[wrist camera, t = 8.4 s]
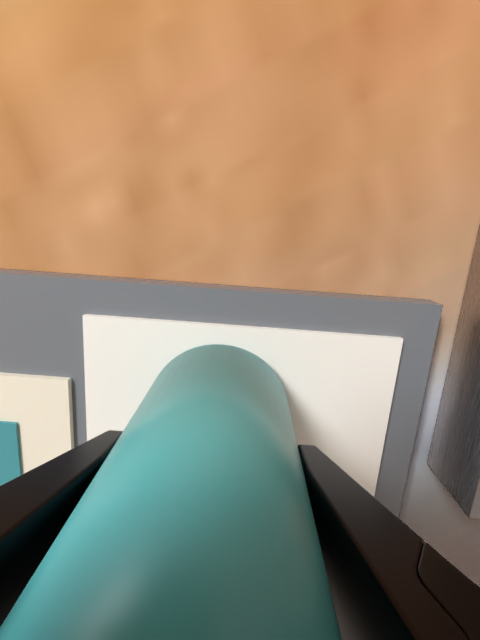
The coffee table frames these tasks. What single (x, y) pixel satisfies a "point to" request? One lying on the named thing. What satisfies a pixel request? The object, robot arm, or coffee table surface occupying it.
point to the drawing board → (205, 329)
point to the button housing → (462, 405)
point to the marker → (190, 522)
